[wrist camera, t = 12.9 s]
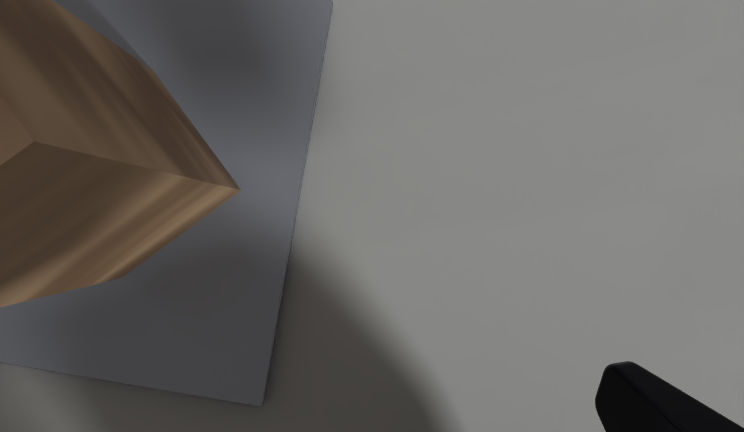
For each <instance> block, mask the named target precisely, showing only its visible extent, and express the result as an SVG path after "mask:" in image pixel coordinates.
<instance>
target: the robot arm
mask: <svg viewBox="0 0 744 432" xmlns="http://www.w3.org/2000/svg"><path fill="white" fill-rule="evenodd" d="M595 405H596V410H597V413H598V415H599V418H600V420H601V422H602V424H603V426H604V429H605V431H606V432H744V428H743V427H741V426H739V425H738V424H736V423H734V422H733V421H731V420H729V419H728V418H726V417H724V416H723V415H721V414H719V413H718V412H716V411H714V410H713V409H711V408H709V407H708V406H706V405H704V404H703V403H701V402H699V401H698V400H696V399H694V398H693V397H691V396H689V395H688V394H686V393H684V392H683V391H681V390H679V389H678V388H676V387H674V386H673V385H671V384H669V383H668V382H666V381H664V380H663V379H661V378H659V377H658V376H656V375H654V374H653V373H651V372H649V371H648V370H646V369H644V368H643V367H641V366H639V365H637V364H636V363H633V362H629V361H626V362H620V363H614V364H610V365H608V366H607V367H606V368H605V370H604V372H603V376H602V379H601V382H600V385H599V388H598V391H597V394H596V398H595Z"/></svg>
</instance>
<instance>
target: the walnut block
mask: <svg viewBox="0 0 744 432" xmlns="http://www.w3.org/2000/svg"><path fill="white" fill-rule="evenodd" d="M240 191H241V189H240V188H239V186H238V185H237V184H236V182H235V181H234V179H233V178H232V177H231V175H230V174H229V173H228V171H227V170H226V169H225V167H224V166H223V165H222V163H221V162H220V160H219V159H218V158H217V156H216V155H215V154H214V152H213V151H212V150H211V148H210V147H209V145H208V144H207V143H206V141H205V140H204V139H203V137H202V136H201V135H200V133H199V132H198V131H197V129H196V128H195V126H194V125H193V124H192V122H191V121H190V120H189V118H188V117H187V116H186V114H185V113H184V112H183V110H182V109H181V107H180V106H179V105H178V103H177V102H176V101H175V99H174V98H173V97H172V95H171V94H170V93H169V91H168V90H167V88H166V87H165V86H164V84H163V83H162V82H161V80H160V79H159V78H158V76H157V75H156V73H155V72H154V71H153V70H151V69H150V68H148V67H147V66H146V65H144V64H143V63H141V62H140V61H138V60H137V59H136V58H134V57H133V56H131V55H130V54H129V53H127V52H126V51H124V50H123V49H121V48H120V47H119V46H117V45H116V44H114V43H113V42H112V41H110V40H109V39H107V38H106V37H104V36H103V35H102V34H100V33H99V32H97V31H96V30H95V29H93V28H92V27H90V26H89V25H87V24H86V23H85V22H83V21H82V20H80V19H79V18H78V17H76V16H75V15H73V14H72V13H70V12H69V11H68V10H66V9H65V8H63V7H62V6H60V5H59V4H58V3H56V2H55V1H53V0H0V307H4V306H8V305H12V304H17V303H21V302H25V301H29V300H33V299H37V298H41V297H45V296H50V295H54V294H58V293H62V292H66V291H70V290H74V289H78V288H83V287H87V286H91V285H95V284H99V283H103V282H107V281H111V280H116V279H120V278H123V277H124V276H125V275H127V274H128V273H129V272H131V271H132V270H133V269H135V268H136V267H138V266H139V265H140V264H142V263H143V262H144V261H146V260H147V259H148V258H150V257H151V256H153V255H154V254H155V253H157V252H158V251H159V250H161V249H162V248H164V247H165V246H166V245H168V244H169V243H170V242H172V241H173V240H174V239H176V238H177V237H179V236H180V235H181V234H183V233H184V232H185V231H187V230H188V229H189V228H191V227H192V226H194V225H195V224H196V223H198V222H199V221H200V220H202V219H203V218H204V217H206V216H207V215H209V214H210V213H211V212H213V211H214V210H215V209H217V208H218V207H220V206H221V205H222V204H224V203H225V202H226V201H228V200H229V199H230V198H232V197H233V196H235V195H236V194H237V193H239V192H240Z"/></svg>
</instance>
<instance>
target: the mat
mask: <svg viewBox="0 0 744 432" xmlns="http://www.w3.org/2000/svg"><path fill="white" fill-rule="evenodd" d="M53 1H55V2H56V3H58V4H59V5H60V6H62V7H63V8H65V9H66V10H68V11H69V12H70V13H72V14H73V15H75V16H76V17H78V18H79V19H80V20H82V21H83V22H85V23H86V24H87V25H89V26H90V27H92V28H93V29H95V30H96V31H97V32H99V33H100V34H102V35H103V36H104V37H106V38H107V39H109V40H110V41H112V42H113V43H114V44H116V45H117V46H119V47H120V48H121V49H123V50H124V51H126V52H127V53H129V54H130V55H131V56H133V57H134V58H136V59H137V60H138V61H140V62H141V63H143V64H144V65H146V66H147V67H148V68H150V69H151V70H153V71H154V72H155V73H156V75H157V76H158V78H159V79H160V80H161V82H162V83H163V84H164V86H165V87H166V88H167V90H168V91H169V93H170V94H171V95H172V97H173V98H174V99H175V101H176V102H177V103H178V105H179V106H180V107H181V109H182V110H183V112H184V113H185V114H186V116H187V117H188V118H189V120H190V121H191V122H192V124H193V125H194V126H195V128H196V129H197V131H198V132H199V133H200V135H201V136H202V137H203V139H204V140H205V141H206V143H207V144H208V145H209V147H210V148H211V150H212V151H213V152H214V154H215V155H216V156H217V158H218V159H219V160H220V162H221V163H222V165H223V166H224V167H225V169H226V170H227V171H228V173H229V174H230V175H231V177H232V178H233V179H234V181H235V182H236V184H237V185H238V186H239V188H240V189H241V191H240V192H239V193H237V194H236V195H235V196H233V197H232V198H230V199H229V200H228V201H226V202H225V203H224V204H222V205H221V206H220V207H218V208H217V209H215V210H214V211H213V212H211V213H210V214H209V215H207V216H206V217H204V218H203V219H202V220H200V221H199V222H198V223H196V224H195V225H194V226H192V227H191V228H189V229H188V230H187V231H185V232H184V233H183V234H181V235H180V236H179V237H177V238H176V239H174V240H173V241H172V242H170V243H169V244H168V245H166V246H165V247H164V248H162V249H161V250H159V251H158V252H157V253H155V254H154V255H153V256H151V257H150V258H148V259H147V260H146V261H144V262H143V263H142V264H140V265H139V266H138V267H136V268H135V269H133V270H132V271H131V272H129V273H128V274H127V275H125V276H124V277H123V278H120V279H116V280H111V281H107V282H103V283H99V284H95V285H91V286H87V287H83V288H78V289H74V290H70V291H66V292H62V293H58V294H54V295H50V296H45V297H41V298H37V299H33V300H29V301H25V302H21V303H17V304H12V305H8V306H4V307H0V363H5V364H11V365H17V366H23V367H29V368H35V369H41V370H47V371H53V372H59V373H65V374H70V375H76V376H82V377H88V378H94V379H100V380H106V381H112V382H118V383H124V384H130V385H136V386H141V387H147V388H153V389H159V390H165V391H171V392H177V393H183V394H189V395H195V396H201V397H207V398H213V399H218V400H224V401H230V402H236V403H242V404H248V405H254V406H260V407H262V405H263V403H264V397H265V392H266V386H267V380H268V374H269V369H270V363H271V357H272V351H273V346H274V340H275V334H276V329H277V323H278V317H279V311H280V306H281V300H282V294H283V288H284V283H285V277H286V271H287V265H288V260H289V254H290V248H291V242H292V237H293V231H294V225H295V219H296V214H297V208H298V202H299V196H300V191H301V185H302V179H303V173H304V168H305V162H306V156H307V151H308V145H309V139H310V133H311V128H312V122H313V116H314V110H315V105H316V99H317V93H318V87H319V82H320V76H321V70H322V64H323V59H324V53H325V47H326V41H327V36H328V30H329V24H330V18H331V13H332V7H333V2H332V0H53Z"/></svg>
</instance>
